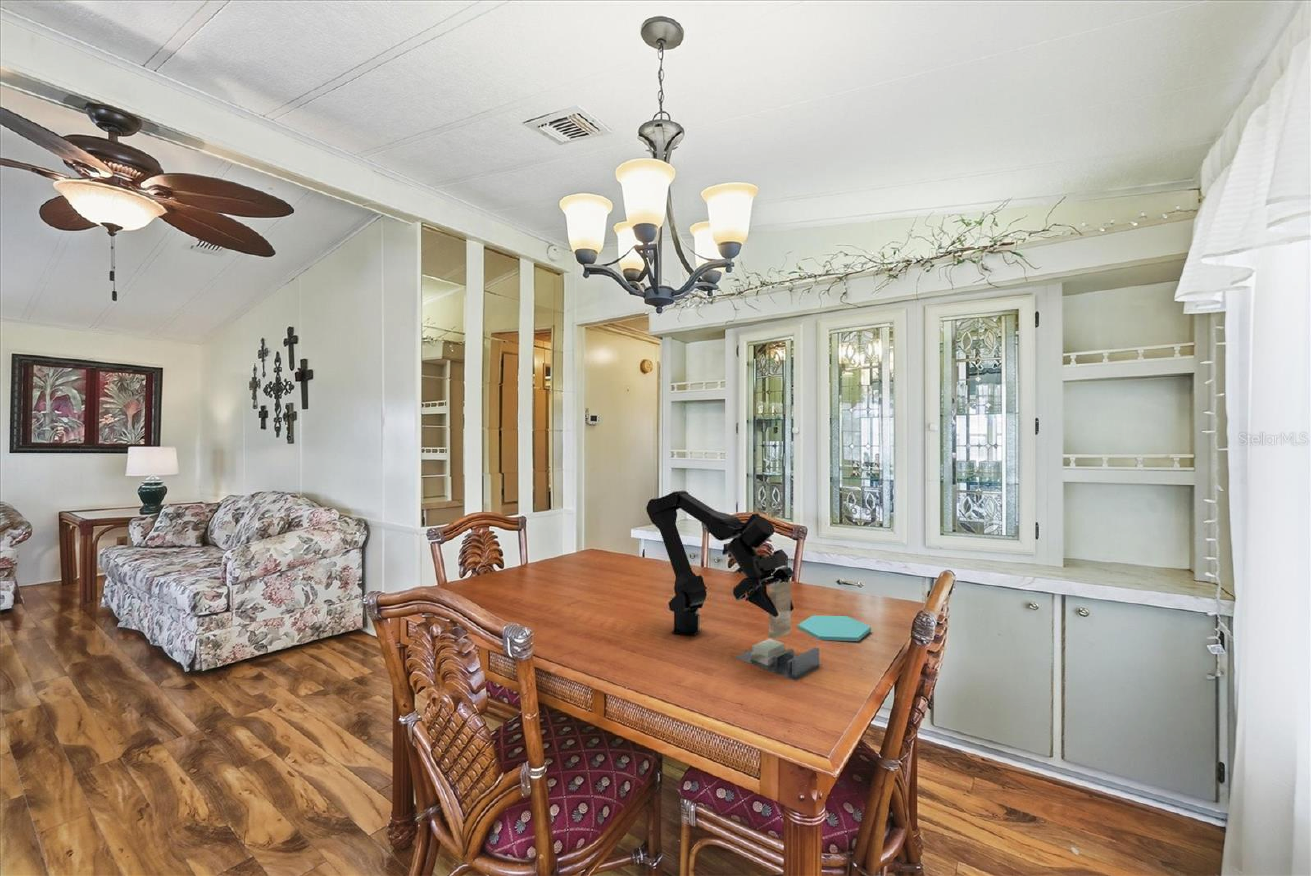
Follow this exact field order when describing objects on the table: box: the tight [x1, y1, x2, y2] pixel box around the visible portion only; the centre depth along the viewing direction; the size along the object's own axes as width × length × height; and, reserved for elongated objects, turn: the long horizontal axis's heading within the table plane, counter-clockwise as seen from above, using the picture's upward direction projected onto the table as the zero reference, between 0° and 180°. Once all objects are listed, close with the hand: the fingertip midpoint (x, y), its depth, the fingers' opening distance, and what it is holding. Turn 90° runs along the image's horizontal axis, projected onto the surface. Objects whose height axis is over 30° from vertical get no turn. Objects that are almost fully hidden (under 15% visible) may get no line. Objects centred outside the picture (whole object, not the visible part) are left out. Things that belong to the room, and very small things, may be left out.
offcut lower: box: [751, 649, 787, 666], centre depth 131 cm, size 5×8×2 cm, turn 133°
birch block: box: [768, 582, 792, 640], centre depth 128 cm, size 2×6×12 cm, turn 133°
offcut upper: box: [752, 637, 786, 657], centre depth 131 cm, size 4×7×2 cm, turn 133°
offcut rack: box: [734, 647, 824, 681], centre depth 129 cm, size 17×12×5 cm
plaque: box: [797, 615, 872, 642], centre depth 153 cm, size 18×2×20 cm
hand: (784, 613), depth 127 cm, fingers closed on birch block, 6 cm apart
